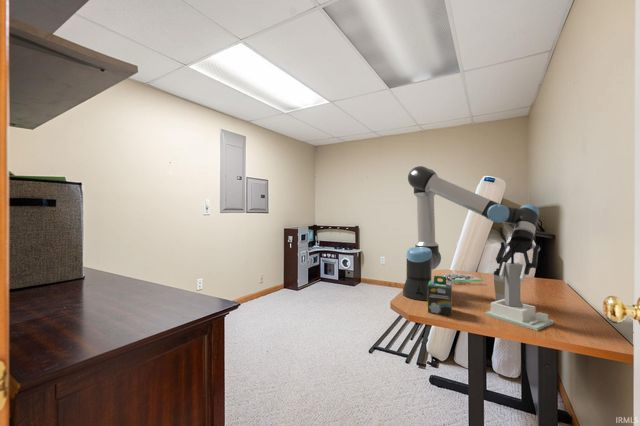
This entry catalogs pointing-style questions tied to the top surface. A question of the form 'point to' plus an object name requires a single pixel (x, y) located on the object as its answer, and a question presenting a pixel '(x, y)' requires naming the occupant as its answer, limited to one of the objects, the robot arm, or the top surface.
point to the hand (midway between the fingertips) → (511, 278)
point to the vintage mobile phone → (513, 282)
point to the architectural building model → (519, 315)
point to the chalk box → (440, 296)
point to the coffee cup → (499, 285)
